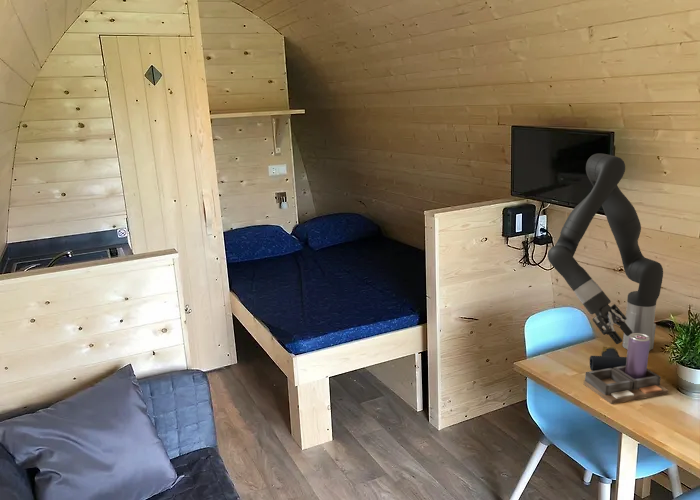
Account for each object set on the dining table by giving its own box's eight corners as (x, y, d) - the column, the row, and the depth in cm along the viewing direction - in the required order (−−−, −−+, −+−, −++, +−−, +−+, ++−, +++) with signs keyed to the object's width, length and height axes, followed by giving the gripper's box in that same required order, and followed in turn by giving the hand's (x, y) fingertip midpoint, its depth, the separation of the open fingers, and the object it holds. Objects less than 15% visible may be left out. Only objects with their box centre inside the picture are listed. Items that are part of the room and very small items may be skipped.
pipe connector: (586, 344, 203) (632, 346, 201) (584, 358, 205) (630, 360, 202) (593, 359, 192) (642, 361, 190) (592, 373, 194) (640, 376, 191)
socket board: (637, 374, 191) (638, 363, 190) (667, 393, 179) (669, 381, 178) (583, 384, 186) (584, 372, 185) (611, 404, 174) (612, 391, 173)
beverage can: (644, 386, 181) (649, 341, 177) (623, 382, 184) (627, 338, 180) (646, 378, 186) (651, 335, 182) (625, 374, 189) (630, 331, 185)
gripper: (591, 296, 182) (626, 340, 177) (609, 285, 192) (642, 326, 187) (573, 308, 187) (607, 351, 182) (592, 296, 197) (624, 337, 192)
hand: (625, 338), depth 185 cm, fingers open, 8 cm apart
